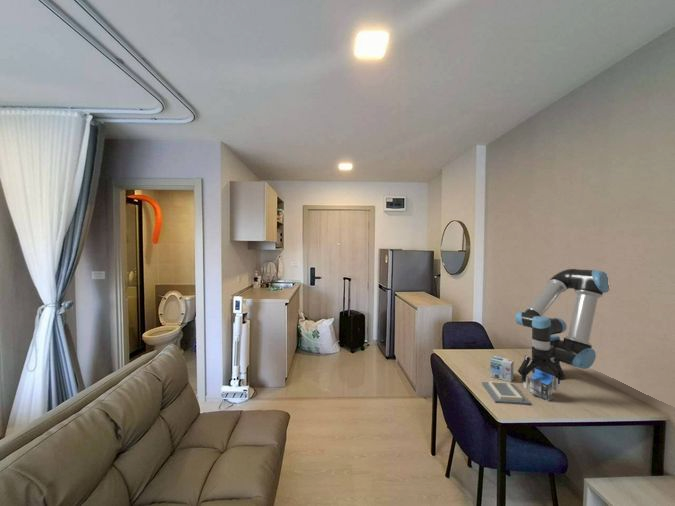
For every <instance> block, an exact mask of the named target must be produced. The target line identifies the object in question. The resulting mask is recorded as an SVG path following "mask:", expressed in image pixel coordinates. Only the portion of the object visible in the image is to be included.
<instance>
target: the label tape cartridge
mask: <svg viewBox="0 0 675 506" xmlns="http://www.w3.org/2000/svg"><path fill="white" fill-rule="evenodd" d="M540 373H542V374H544V375H546V376H544V375H542V374H540ZM552 378H553V376H552V375H550V374H547V373H545V372H543V371H540V370H538V369H536V368H535V373H532V374H531V376H530V377H529V393H530V394H533V395H535V396H536V397H538V398H541V399H542V400H545V401H547V402H551V401H552V400H553V379H552Z"/></svg>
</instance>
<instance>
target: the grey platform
mask: <svg viewBox="0 0 675 506" xmlns="http://www.w3.org/2000/svg"><path fill="white" fill-rule="evenodd" d="M481 385H482V386H483V388H484V389H485V390H486V392H487V394H488V395H489V396H490V398H491V399H492V400H493V401H494V403H495V404H496V403H497V404H507V403H508V405H525V406H531V405H532V403H531V401H530V400H529V399H528V398H527V397H526V396H525V395H524V394H523V393H522V392H521V391H520V389H518V387H517V386H516V385H515V384H514V383H510V382H507V381H494V380H493V381H492V380H489V381H488V382H484V381H481Z"/></svg>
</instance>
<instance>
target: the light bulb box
mask: <svg viewBox="0 0 675 506" xmlns="http://www.w3.org/2000/svg"><path fill="white" fill-rule="evenodd" d="M490 378H493V379H494V378H495V379H498V380H501V381H503V382H509V383H512V381H513V379H514V360H513V359H510V358H505V357H501V356H497V355H492V357H491V358H490Z"/></svg>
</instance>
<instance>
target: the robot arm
mask: <svg viewBox="0 0 675 506" xmlns="http://www.w3.org/2000/svg"><path fill="white" fill-rule="evenodd" d="M607 275H608V274H607V273H606V272H605V271H602V270H595V269H577V268H569V269H565V270H561V271H559V272H558V273H556V274H554V275H552V276H551V278H550V279H549V280H548V281H547V285H546V286H545V288H544V289H543V290H542V291H541V293H539V295H538V296H537V297H536V298H535V299H534V301H533V302H532V303H531V304H530V305H529V306H528V308H527V309H526V310H525V311H519V312H517V313H516V314H515V317H514V318H515V319H514V320H515V322H516V324H518V325H519V326H522V327H526V328H531V356H528V355H524V359H523V361H522V363H521V365H520V366H519V368H518V370H517V373H518V374H520V375H521V381H522V382H523V387H524V389H526V390H529V376H528V375H529V374H530V372H532V374H534V373H535V368H536V369H538V370H540V371H543V372H545V373H547V374H550V375H552V376H553V378H552V390H555V392H559V385H560V384H561V382H560V381H561V380H562V379H564V378H565V374H564V371H563V368H562V366H561V364H560V362H561V363H564V364H567V365H570V366H572V367H575V368H579V369H583V370H587V369H589V368H591V367H592V366H593V364H594V363H595V360H596V356H597V355H596V351H595V349H593V348H592V347H593V345H592V343H591V342H590V338H591V333H592V327H593V322H594V318H595V314H596V309H597V305H598V299H600V298H603V295H604V294H605V293H608V292H609V291H610V289H609V285H608V277H609V276H608V277H607ZM570 289H573V290H574V293H575V294H576V298H575V303H574V307H573V311H572V318H571V321H570V325H569V331H568V334H567V335H566V336H565V337H563V339H562V340H561V338H560V335H558V334H561V333H564V332H565V331H566V330H567V324H566V322H565V321H564V320H563V319H562V318H557V317H553V318H550V317H547V316H544V315H545V313H546V312H547V311H548V310H549V308H551V306H552V305H553V304H554V302H556V300H557V299H558V298H559V297H560V295H561V294H562V293H565V292H566V291H568V290H570ZM540 374H542V373H540ZM542 375H544V374H542ZM544 376H546V375H544Z"/></svg>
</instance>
